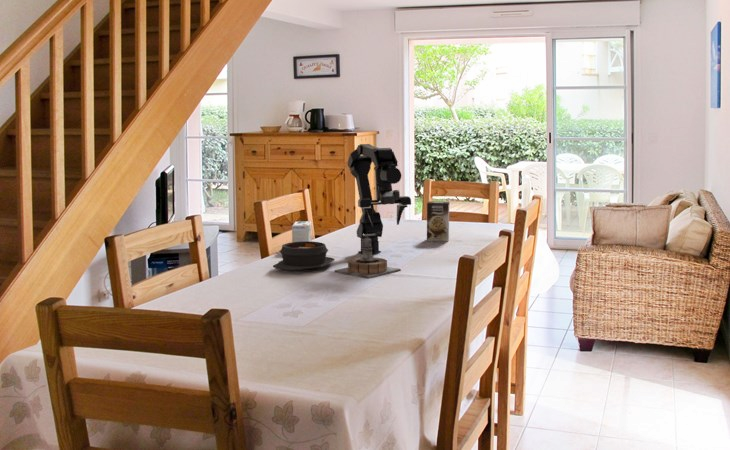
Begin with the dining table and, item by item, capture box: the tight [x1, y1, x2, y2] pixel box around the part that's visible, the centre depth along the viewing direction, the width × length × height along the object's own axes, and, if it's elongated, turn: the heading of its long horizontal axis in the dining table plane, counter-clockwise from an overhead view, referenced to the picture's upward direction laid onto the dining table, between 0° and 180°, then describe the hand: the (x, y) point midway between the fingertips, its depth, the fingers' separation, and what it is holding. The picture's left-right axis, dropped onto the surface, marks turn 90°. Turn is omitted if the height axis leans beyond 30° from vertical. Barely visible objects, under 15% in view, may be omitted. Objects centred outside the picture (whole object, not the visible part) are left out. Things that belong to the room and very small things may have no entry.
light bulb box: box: [291, 220, 312, 242], centre depth 321 cm, size 11×7×11 cm, turn 178°
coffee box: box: [426, 201, 451, 243], centre depth 339 cm, size 9×6×16 cm
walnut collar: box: [334, 256, 402, 279], centre depth 279 cm, size 16×16×4 cm
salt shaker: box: [359, 235, 377, 263], centre depth 278 cm, size 6×6×12 cm
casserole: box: [272, 241, 335, 272], centre depth 286 cm, size 25×19×8 cm
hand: (385, 225), depth 297 cm, fingers open, 9 cm apart
